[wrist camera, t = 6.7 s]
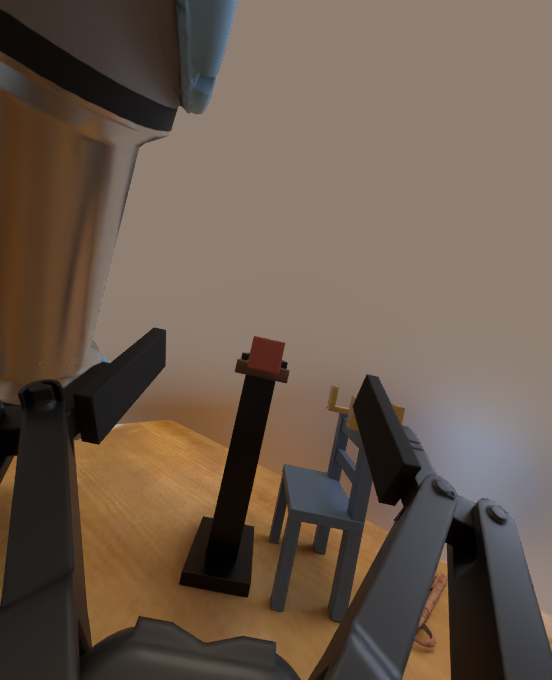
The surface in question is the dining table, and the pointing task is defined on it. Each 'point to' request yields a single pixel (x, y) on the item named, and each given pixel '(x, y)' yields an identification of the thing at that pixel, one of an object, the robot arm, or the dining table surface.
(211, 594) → the dining table surface
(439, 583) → the key
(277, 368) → the hanger bar
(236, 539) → the stand
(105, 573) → the dining table surface
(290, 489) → the chair
